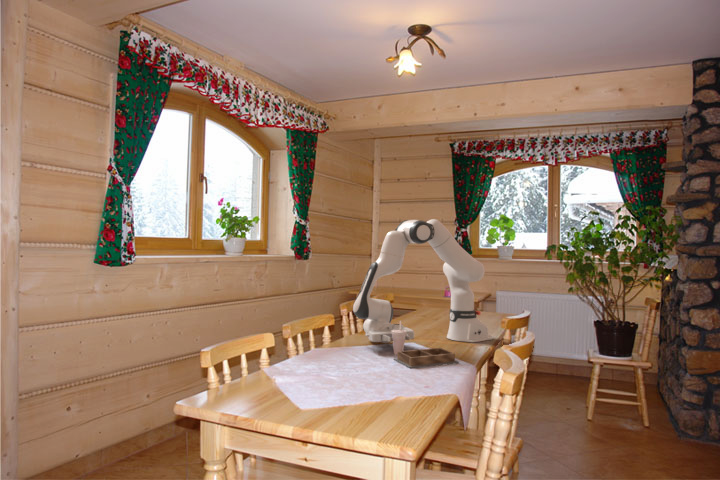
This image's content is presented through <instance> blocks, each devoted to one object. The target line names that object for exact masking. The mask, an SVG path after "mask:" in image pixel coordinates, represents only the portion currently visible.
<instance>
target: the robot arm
mask: <svg viewBox="0 0 720 480" xmlns="http://www.w3.org/2000/svg"><path fill="white" fill-rule="evenodd" d="M425 243H428V244H429V246H430V247H431V248H432V249H433V250H434V251H433V252H435V253H436V255H437V256H438V258H439V259H440V260H441V261H443V262H444V263H443V265H442V272H443V274H444V275H445V277H446V279H447V282H448V286H449V290H450V308H449V327H448V331H447V334H446V338H447V339H448V340H452V341H457V342H466V343H467V342H468V343H479V342H483V341H489V340H493V339H494V338H493V336H492V335H489V330H488V327H487V325H486V324H485V323H484V322H483V321H481V320H480V319H479V318H478V316H481V314H482V311H481V310H475V293H474V291H473V290H472V288H471V286H470V283H475V282H479V281H481V280H482V279H483V278H484V276H485V274H486V273H485V265H484V264H483V263H482V262H480V261H479V260H477V259H475V258H474V257H473V256H472V255H471V254H470V253H469V252H467V251H466V250H465V248H463V247H462V246H461V245H460V244H459V242H458V241H457V240H456V239H455V238H454V236H453V234H452V233H451V231H449V230H448V228H447V227H446V226H445V225H444V224H443V223H442V222H441V221H440V220H438V219H437V218H436V219H435V218H432V219H429V220H427V221H425V220H419V219H406V220H403V221H401V222H400V223H399V224H398V225H397V227H396V229H395V230H390V231H389V232H387V233H386V235H385V237H384V239H383V242H382V245H381V249H380V253H379V256H378V258H377V259H376V261H374V262H372V263H371V264H370V266H369V267H368V270H367V272H366V273H365V277H364V279H363V282H362V285H361V287H360V290H359V292H358V295H357V296H356V298H355V299H354V302H353V306H352V312H353V314H354V315H355V316H356V318H357V319H359V320H364V322H363V325H362V328H363V331H364V332H365V334H364V335H365V337H368V340H369V341H370V342H372V343H382V344H388V343H390V342H393V337H392V333H391V331H392V330H400V323H391V322H392V320H393V317H394V307H393V305H392V303H391V302H390V301H389V300H385V299H379V298H373V297H371V293H372V291H373V289H374V286H375V284H376V282H377V280H378V279H379V278H381V277H384V276H389V275H393V274H396V273H397V272H398V271H399V270H401V269H402V266H403V264H404V259H405V253H406V250H407V248H408V246H409V245H410V244H414V245H415V244H417V245H421V244H425ZM401 330H405V331H406V333H407V334H406V336H405V341H410V340H414V338H415V331H414V329H412V328H409V327H408V326H404V325H403V324H402V323H401Z"/></svg>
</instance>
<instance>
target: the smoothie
mask: <svg viewBox="0 0 720 480" xmlns="http://www.w3.org/2000/svg"><path fill="white" fill-rule="evenodd" d="M399 324H400V330H392V331H391V333H392V337H393V341H392V348H393V354H394V355H396V356H397V352H398V351H405V350H404V348H405V341H406V340H405V336H406V334H407V333H406V331H405V330H401V324H402V320H399Z"/></svg>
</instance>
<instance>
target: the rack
mask: <svg viewBox="0 0 720 480" xmlns="http://www.w3.org/2000/svg"><path fill="white" fill-rule="evenodd" d="M396 358H397V359H398V360H400V361H402V362H404V363H406V364H408V365H410V366H415V365H425V364H435V363H444V362H454V361H456V353H455V352H451V351H450V350H447V349H444V348H443V347H442V348H441V347H434V348H433V347H431V348H424V349H422V348H421V349H412V350H403V351H398V352H397V355H396Z"/></svg>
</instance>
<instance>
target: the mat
mask: <svg viewBox="0 0 720 480" xmlns="http://www.w3.org/2000/svg"><path fill="white" fill-rule="evenodd" d="M393 361H395V362H397V363H399V364H400V365H402V366H405V367H406V368H408V369H416V368H417V369H418V368H425V367H427V368H428V367H434V366H435V367H436V365H438V366H444V365H443V364H447V365H454V364H453V363H456V364H460V362H459V361H458V360H455V361H454V362H444V363H435V364H425V365H415V366H410V365H408V364H406V363H404V362H402V361H400V360H398V359H397V357H396V358H395V357H394V358H393Z"/></svg>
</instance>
